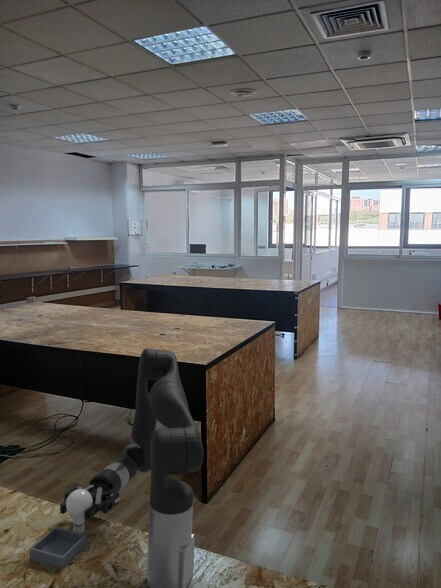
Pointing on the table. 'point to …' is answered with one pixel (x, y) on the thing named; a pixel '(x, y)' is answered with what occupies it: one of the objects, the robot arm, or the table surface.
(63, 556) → the walled box
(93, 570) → the table surface
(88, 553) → the table surface
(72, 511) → the lightbulb
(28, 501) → the table surface
